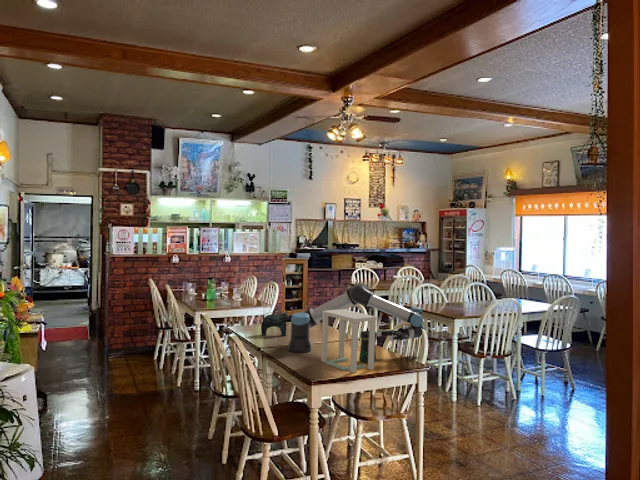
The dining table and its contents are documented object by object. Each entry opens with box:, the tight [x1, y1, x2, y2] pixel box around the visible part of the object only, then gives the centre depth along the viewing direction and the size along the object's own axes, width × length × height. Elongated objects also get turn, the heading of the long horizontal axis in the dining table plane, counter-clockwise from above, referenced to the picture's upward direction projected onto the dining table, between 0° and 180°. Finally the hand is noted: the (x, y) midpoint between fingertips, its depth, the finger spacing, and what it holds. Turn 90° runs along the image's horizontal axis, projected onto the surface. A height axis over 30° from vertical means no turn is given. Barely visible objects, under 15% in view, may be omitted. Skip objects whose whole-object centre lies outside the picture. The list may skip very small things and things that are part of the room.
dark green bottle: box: [358, 330, 378, 364], centre depth 308 cm, size 10×8×19 cm
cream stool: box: [320, 308, 377, 374], centre depth 298 cm, size 17×30×30 cm, turn 37°
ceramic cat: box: [260, 307, 290, 337], centre depth 374 cm, size 20×6×20 cm, turn 92°
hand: (380, 336), depth 313 cm, fingers open, 13 cm apart
